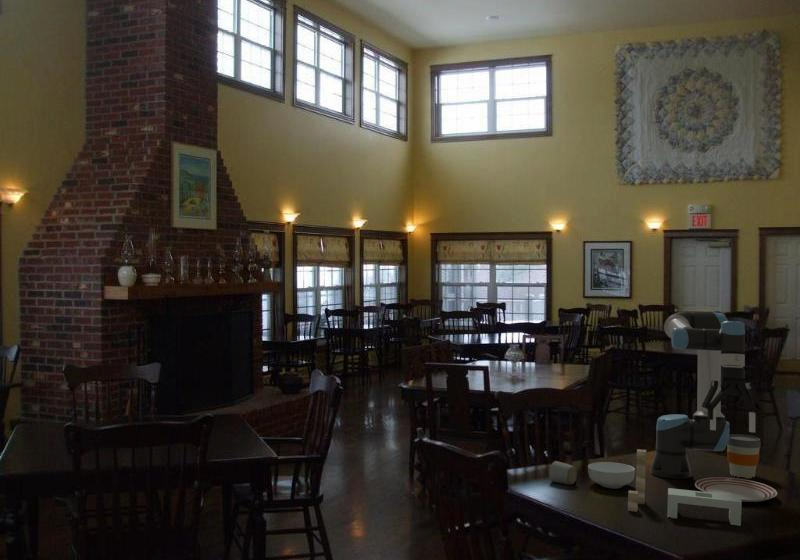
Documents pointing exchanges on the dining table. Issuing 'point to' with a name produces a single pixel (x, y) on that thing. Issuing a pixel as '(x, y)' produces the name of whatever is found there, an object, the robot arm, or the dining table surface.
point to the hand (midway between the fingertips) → (732, 431)
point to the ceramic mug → (562, 473)
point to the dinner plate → (737, 488)
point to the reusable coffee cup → (743, 455)
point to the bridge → (705, 502)
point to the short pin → (633, 501)
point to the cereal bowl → (611, 474)
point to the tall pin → (641, 475)
